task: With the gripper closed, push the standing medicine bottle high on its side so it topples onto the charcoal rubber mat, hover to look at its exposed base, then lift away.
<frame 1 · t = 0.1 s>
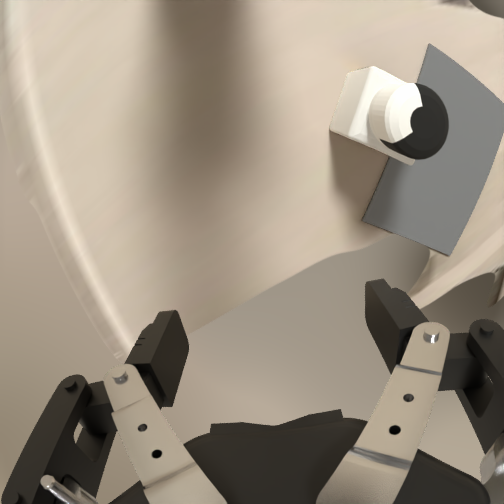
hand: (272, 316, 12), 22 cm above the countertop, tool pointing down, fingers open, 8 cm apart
rubber mat: (448, 157, 30), on the countertop
medicine bottle: (366, 112, 28), on the countertop
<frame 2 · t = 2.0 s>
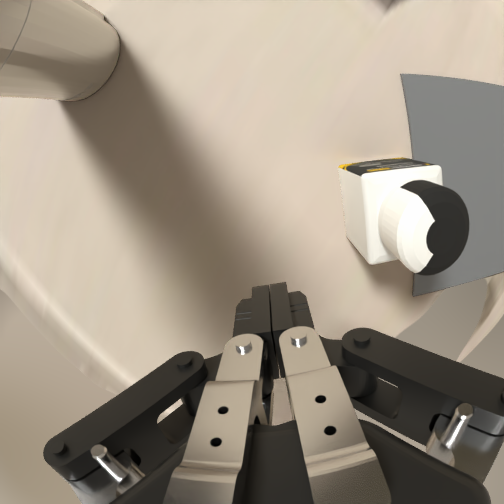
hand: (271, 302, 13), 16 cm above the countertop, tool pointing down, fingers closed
rubber mat: (470, 185, 26), on the countertop
medicine bottle: (374, 196, 27), on the countertop
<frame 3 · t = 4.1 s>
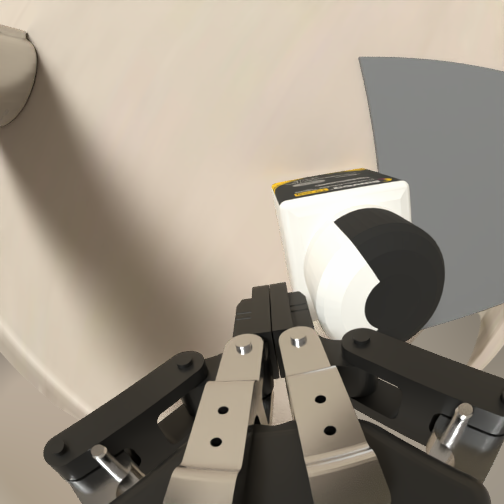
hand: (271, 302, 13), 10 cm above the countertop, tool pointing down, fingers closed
rubber mat: (461, 201, 21), on the countertop
medicine bottle: (325, 221, 22), on the countertop, touching gripper
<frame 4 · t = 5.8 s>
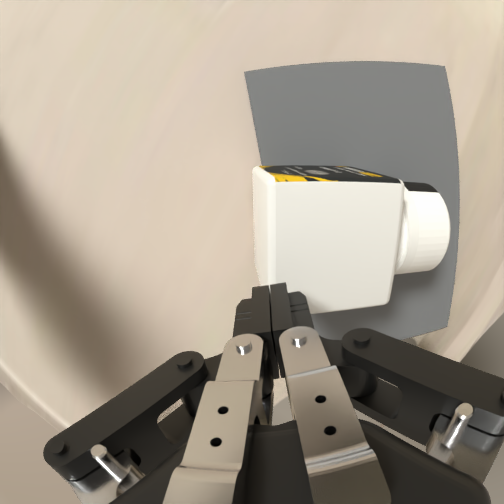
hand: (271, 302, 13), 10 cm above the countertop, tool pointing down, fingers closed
rubber mat: (376, 219, 22), on the countertop
medicine bottle: (255, 233, 17), point 5 cm above the countertop, touching rubber mat
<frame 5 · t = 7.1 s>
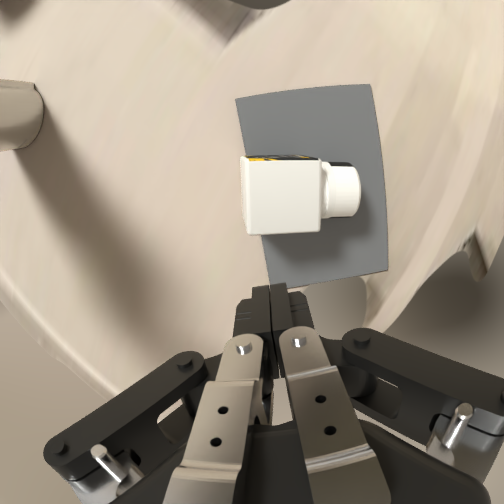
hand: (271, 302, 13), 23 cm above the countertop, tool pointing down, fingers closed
rubber mat: (321, 188, 34), on the countertop
medicine bottle: (241, 192, 30), point 5 cm above the countertop, touching rubber mat
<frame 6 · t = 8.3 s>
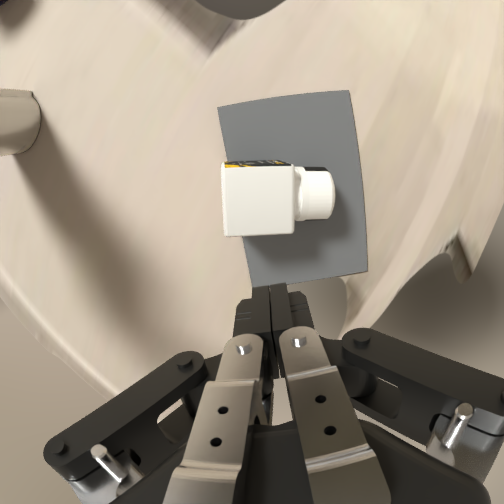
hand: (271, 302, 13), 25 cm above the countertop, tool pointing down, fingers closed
rubber mat: (300, 192, 36), on the countertop
medicine bottle: (220, 196, 32), point 5 cm above the countertop, touching rubber mat
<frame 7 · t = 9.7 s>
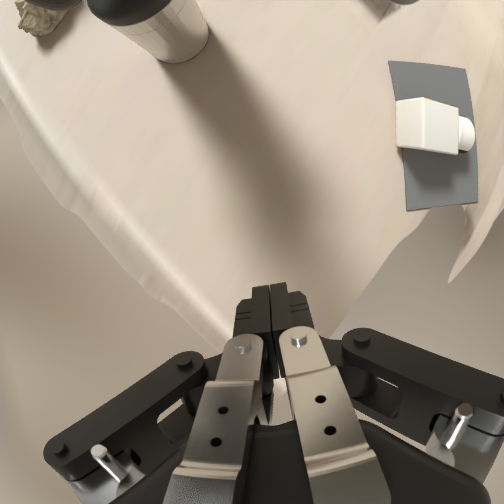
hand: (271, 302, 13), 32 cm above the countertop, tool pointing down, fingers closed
rubber mat: (441, 134, 39), on the countertop
medicine bottle: (407, 122, 34), point 5 cm above the countertop, touching rubber mat
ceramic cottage: (49, 0, 30), on the countertop
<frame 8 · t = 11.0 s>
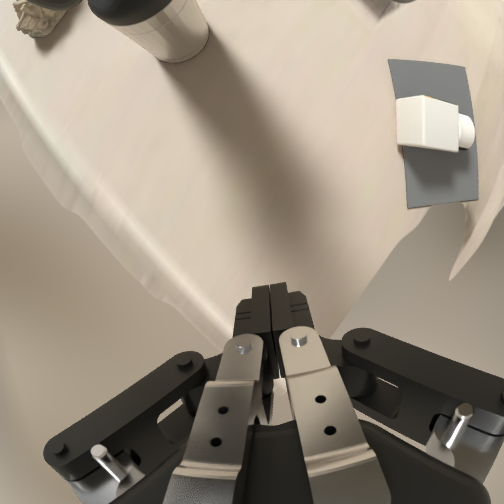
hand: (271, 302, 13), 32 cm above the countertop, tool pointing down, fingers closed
rubber mat: (441, 132, 39), on the countertop
medicine bottle: (407, 120, 34), point 5 cm above the countertop, touching rubber mat
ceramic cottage: (46, 2, 30), on the countertop
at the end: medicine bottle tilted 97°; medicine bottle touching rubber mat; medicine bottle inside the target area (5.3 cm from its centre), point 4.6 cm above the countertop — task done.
